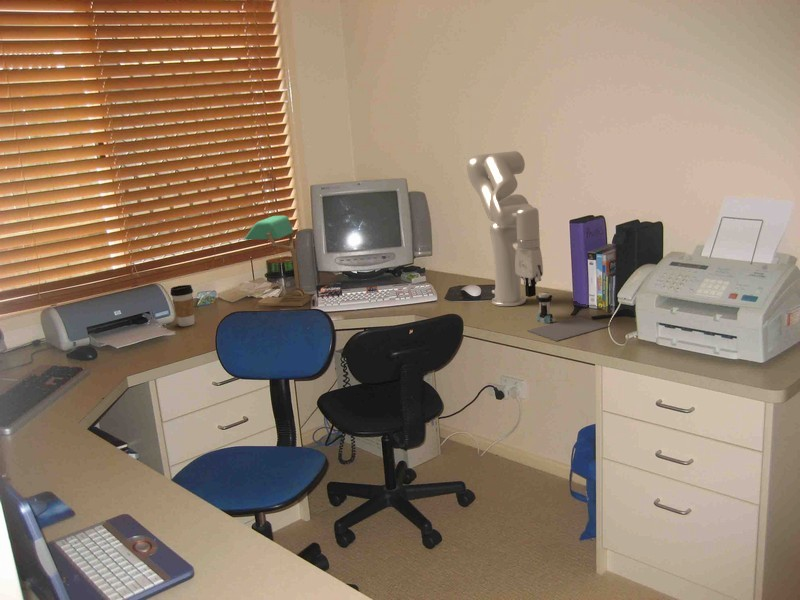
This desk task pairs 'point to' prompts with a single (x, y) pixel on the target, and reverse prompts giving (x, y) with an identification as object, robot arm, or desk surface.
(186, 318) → the coffee cup
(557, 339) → the mat
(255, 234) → the banker's lamp
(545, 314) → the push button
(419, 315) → the desk surface
